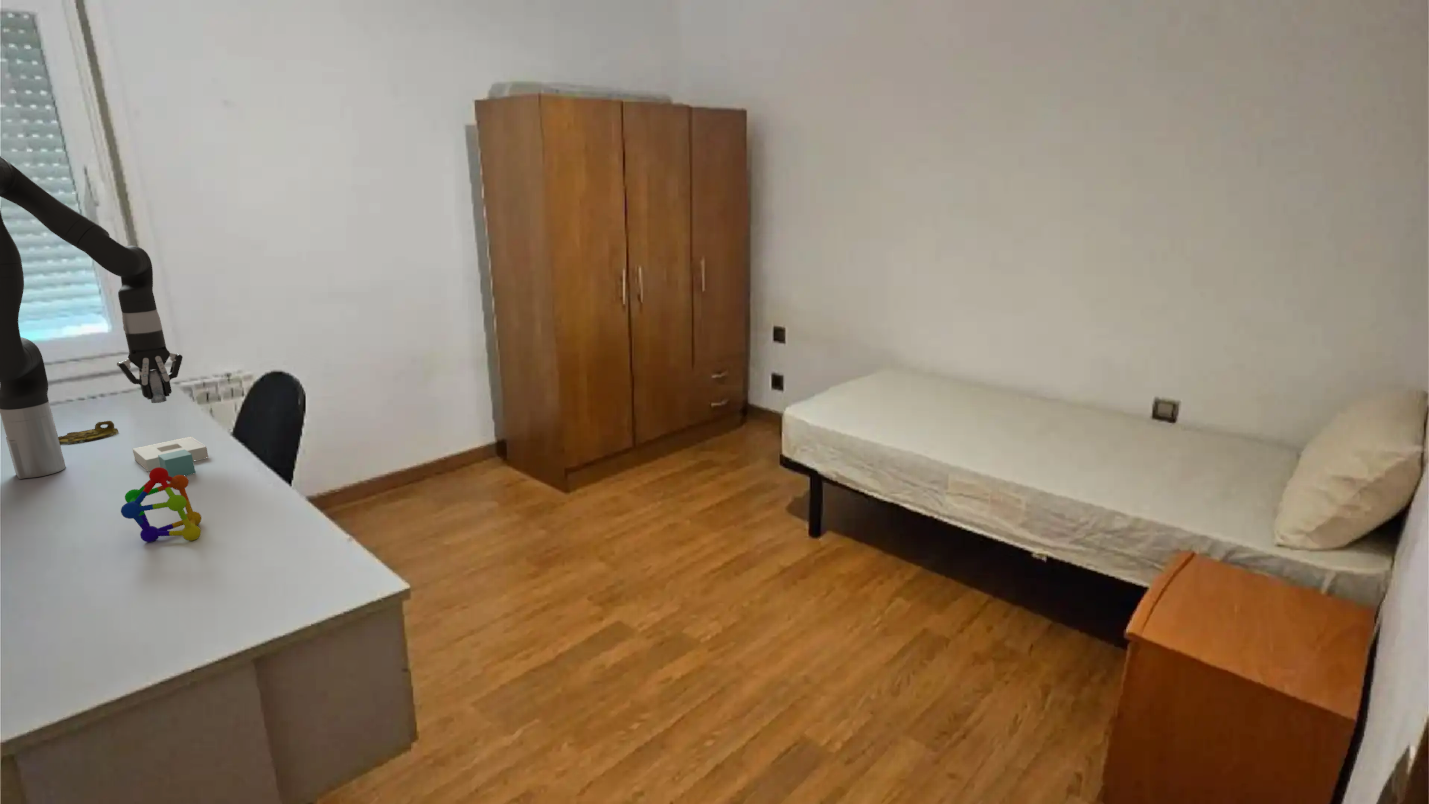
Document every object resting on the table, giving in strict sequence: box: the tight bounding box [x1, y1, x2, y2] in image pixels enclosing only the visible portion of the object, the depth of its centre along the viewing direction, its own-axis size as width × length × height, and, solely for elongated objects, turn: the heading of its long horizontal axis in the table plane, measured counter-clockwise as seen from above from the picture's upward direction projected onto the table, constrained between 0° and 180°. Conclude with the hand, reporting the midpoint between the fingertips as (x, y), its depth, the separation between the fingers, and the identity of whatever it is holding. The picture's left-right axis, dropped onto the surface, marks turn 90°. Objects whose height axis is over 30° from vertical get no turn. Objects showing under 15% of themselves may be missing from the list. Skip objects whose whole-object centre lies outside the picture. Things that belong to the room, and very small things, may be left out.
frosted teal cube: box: [158, 449, 196, 477], centre depth 189 cm, size 6×6×5 cm
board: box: [132, 436, 209, 473], centre depth 200 cm, size 13×13×3 cm
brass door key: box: [58, 420, 119, 445], centre depth 218 cm, size 9×5×15 cm
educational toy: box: [120, 467, 203, 543], centre depth 153 cm, size 16×13×15 cm
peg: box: [148, 369, 168, 404], centre depth 195 cm, size 3×3×8 cm
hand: (158, 396), depth 196 cm, fingers closed on peg, 3 cm apart
